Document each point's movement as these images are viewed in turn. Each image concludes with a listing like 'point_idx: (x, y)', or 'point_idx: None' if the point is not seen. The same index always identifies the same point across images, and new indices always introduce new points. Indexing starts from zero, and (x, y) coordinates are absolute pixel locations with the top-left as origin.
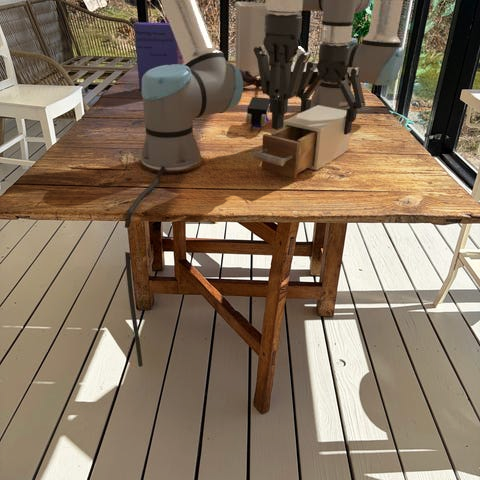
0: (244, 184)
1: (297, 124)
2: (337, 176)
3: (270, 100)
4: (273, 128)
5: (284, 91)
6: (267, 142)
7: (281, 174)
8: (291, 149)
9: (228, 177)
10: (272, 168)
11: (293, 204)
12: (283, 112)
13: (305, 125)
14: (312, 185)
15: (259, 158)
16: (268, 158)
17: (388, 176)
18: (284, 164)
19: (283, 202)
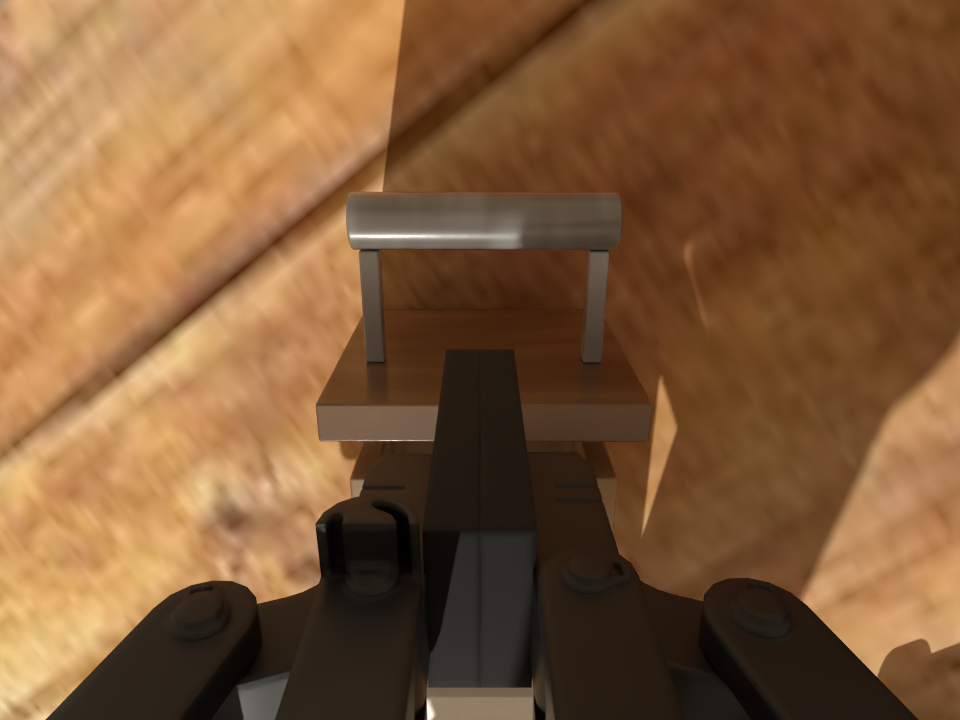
0: (595, 97)
1: (518, 694)
2: (245, 503)
3: (603, 544)
4: (487, 349)
5: (296, 681)
6: (593, 381)
7: (455, 311)
8: (373, 378)
9: (738, 124)
10: (522, 317)
11: (196, 38)
12: (376, 471)
13: (451, 700)
14: (274, 334)
15: (548, 192)
16: (466, 195)
17: (70, 631)
18: (434, 333)
19: (256, 23)
